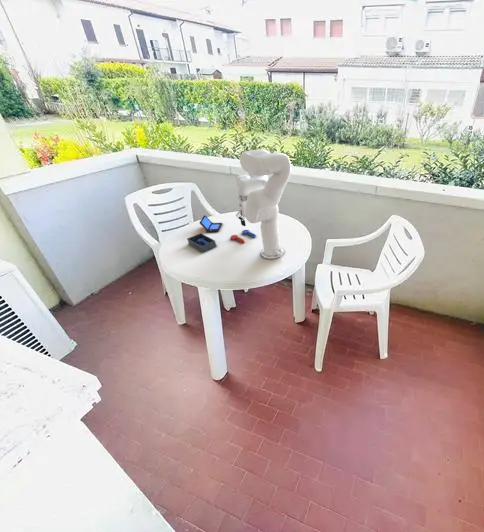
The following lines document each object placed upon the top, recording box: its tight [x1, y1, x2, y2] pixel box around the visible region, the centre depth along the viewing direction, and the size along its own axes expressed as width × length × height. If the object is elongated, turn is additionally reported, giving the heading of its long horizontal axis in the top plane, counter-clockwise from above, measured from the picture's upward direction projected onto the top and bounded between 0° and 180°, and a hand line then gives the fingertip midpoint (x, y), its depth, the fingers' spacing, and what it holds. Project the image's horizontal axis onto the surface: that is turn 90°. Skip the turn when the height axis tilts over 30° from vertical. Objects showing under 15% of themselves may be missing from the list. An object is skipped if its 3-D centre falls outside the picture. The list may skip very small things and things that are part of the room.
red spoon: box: [230, 234, 246, 244], centre depth 175 cm, size 12×4×2 cm, turn 51°
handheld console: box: [199, 215, 223, 233], centre depth 187 cm, size 12×11×7 cm
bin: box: [186, 232, 217, 254], centre depth 169 cm, size 15×9×4 cm, turn 52°
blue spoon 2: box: [241, 229, 257, 238], centre depth 181 cm, size 12×4×2 cm, turn 52°
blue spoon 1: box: [197, 238, 209, 244], centre depth 170 cm, size 12×4×2 cm, turn 52°
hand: (249, 222), depth 175 cm, fingers open, 9 cm apart
